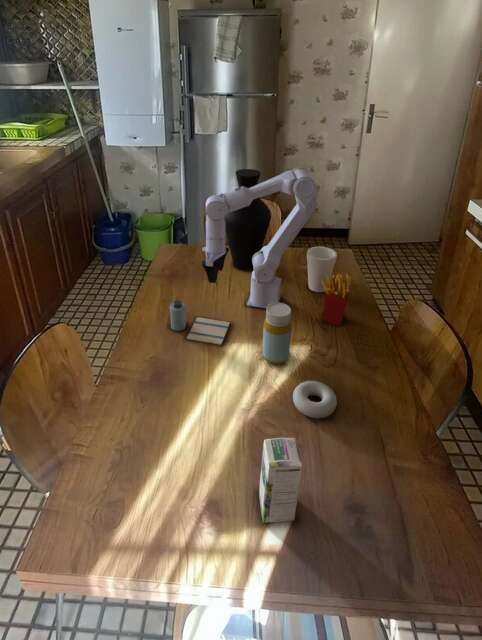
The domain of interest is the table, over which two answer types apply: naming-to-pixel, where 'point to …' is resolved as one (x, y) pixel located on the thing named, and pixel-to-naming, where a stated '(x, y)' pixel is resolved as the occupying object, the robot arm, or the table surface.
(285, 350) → the bottle
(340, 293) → the french fries
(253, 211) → the vase
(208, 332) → the dish cloth
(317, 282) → the foam cup
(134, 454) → the table surface
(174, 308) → the pepper shaker
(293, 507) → the syrup box
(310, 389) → the donut
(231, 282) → the table surface
